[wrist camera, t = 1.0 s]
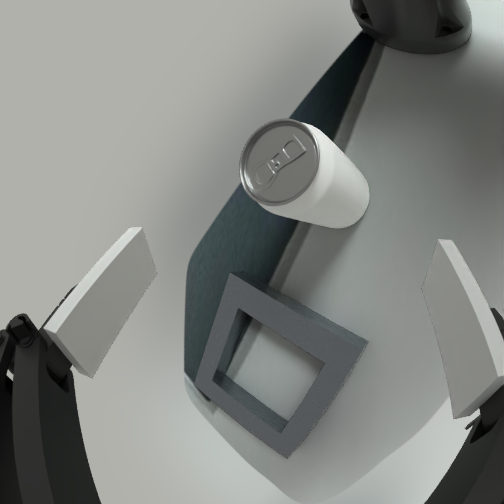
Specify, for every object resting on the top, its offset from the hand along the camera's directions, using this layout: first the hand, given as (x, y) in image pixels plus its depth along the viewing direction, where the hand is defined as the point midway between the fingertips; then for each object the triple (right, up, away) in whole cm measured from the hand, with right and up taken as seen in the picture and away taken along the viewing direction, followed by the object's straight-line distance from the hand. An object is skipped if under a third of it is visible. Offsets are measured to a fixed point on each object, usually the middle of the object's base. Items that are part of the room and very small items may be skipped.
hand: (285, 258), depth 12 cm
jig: (+1, -13, +18) cm, 23 cm away
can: (+7, +6, +14) cm, 17 cm away
